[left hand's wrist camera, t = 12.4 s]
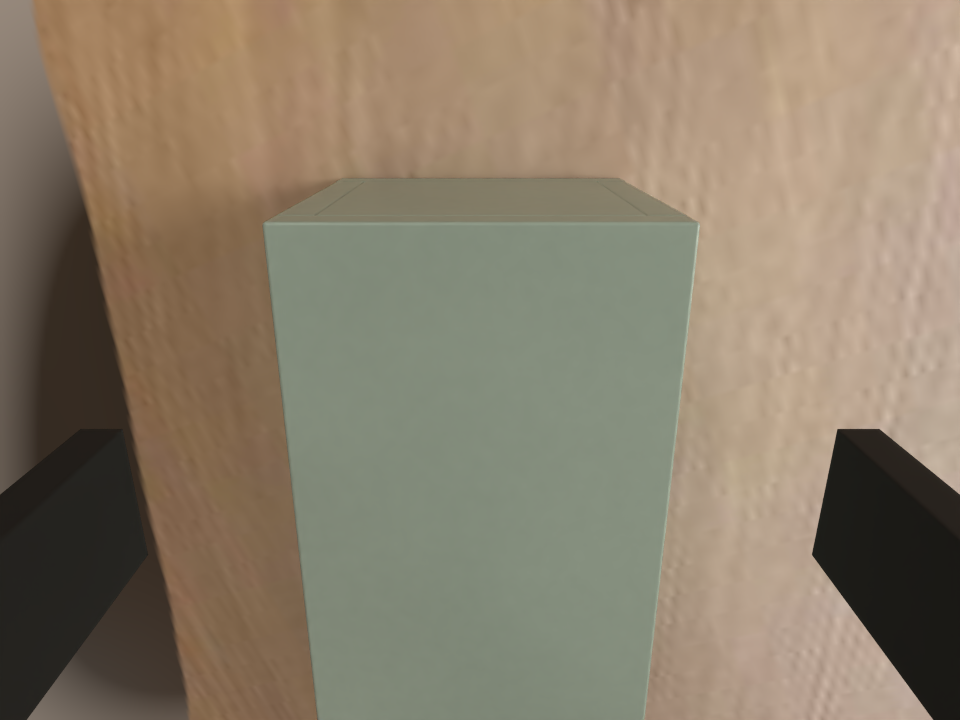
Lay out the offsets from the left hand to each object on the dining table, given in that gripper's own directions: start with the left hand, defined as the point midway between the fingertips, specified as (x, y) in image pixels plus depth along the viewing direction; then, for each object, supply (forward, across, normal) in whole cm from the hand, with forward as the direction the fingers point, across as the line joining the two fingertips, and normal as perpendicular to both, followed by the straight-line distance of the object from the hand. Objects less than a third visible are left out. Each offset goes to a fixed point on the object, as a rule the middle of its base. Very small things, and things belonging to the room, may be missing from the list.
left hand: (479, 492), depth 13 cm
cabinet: (+15, 0, -6) cm, 16 cm away
